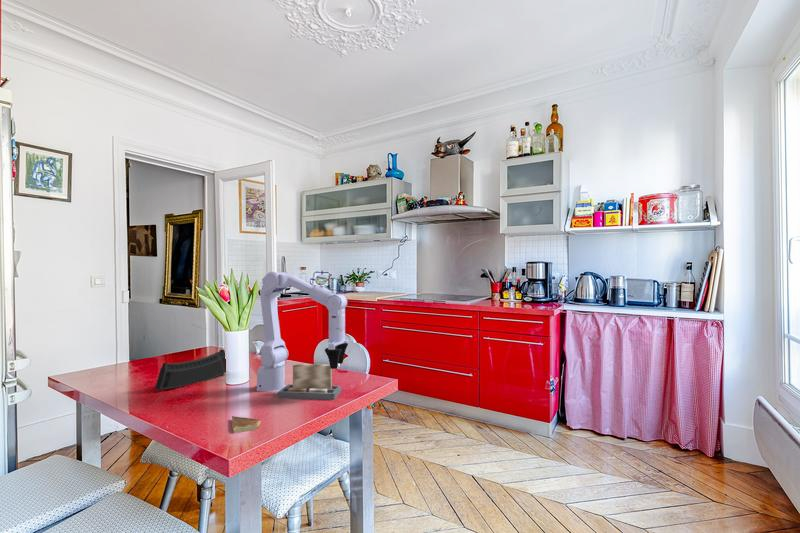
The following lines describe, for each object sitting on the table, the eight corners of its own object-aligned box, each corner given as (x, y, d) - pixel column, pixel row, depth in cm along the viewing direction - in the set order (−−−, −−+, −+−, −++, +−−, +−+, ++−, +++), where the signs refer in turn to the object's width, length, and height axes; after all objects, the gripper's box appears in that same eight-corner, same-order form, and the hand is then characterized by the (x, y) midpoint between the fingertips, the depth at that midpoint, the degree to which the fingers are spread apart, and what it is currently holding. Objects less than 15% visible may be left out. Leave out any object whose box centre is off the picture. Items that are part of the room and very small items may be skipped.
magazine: (152, 370, 137) (224, 334, 162) (147, 369, 139) (219, 333, 164) (166, 411, 141) (234, 370, 166) (161, 410, 143) (229, 369, 168)
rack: (277, 399, 132) (277, 392, 132) (288, 390, 142) (288, 383, 142) (333, 401, 130) (333, 394, 130) (341, 392, 140) (341, 385, 140)
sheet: (292, 392, 138) (292, 364, 138) (294, 391, 139) (294, 363, 139) (330, 393, 136) (330, 365, 136) (331, 392, 138) (331, 364, 138)
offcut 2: (308, 397, 133) (308, 390, 133) (310, 395, 135) (310, 388, 135) (325, 397, 132) (325, 390, 132) (327, 395, 134) (327, 388, 134)
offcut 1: (288, 396, 133) (288, 389, 133) (290, 394, 135) (290, 387, 135) (304, 397, 133) (304, 389, 133) (306, 395, 135) (306, 388, 135)
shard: (231, 421, 114) (231, 415, 114) (259, 417, 118) (259, 411, 118) (232, 435, 105) (232, 428, 105) (262, 430, 108) (262, 424, 108)
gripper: (342, 331, 130) (342, 371, 129) (352, 325, 144) (352, 361, 144) (322, 330, 130) (322, 370, 130) (334, 324, 145) (334, 360, 145)
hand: (336, 365), depth 137 cm, fingers open, 7 cm apart
